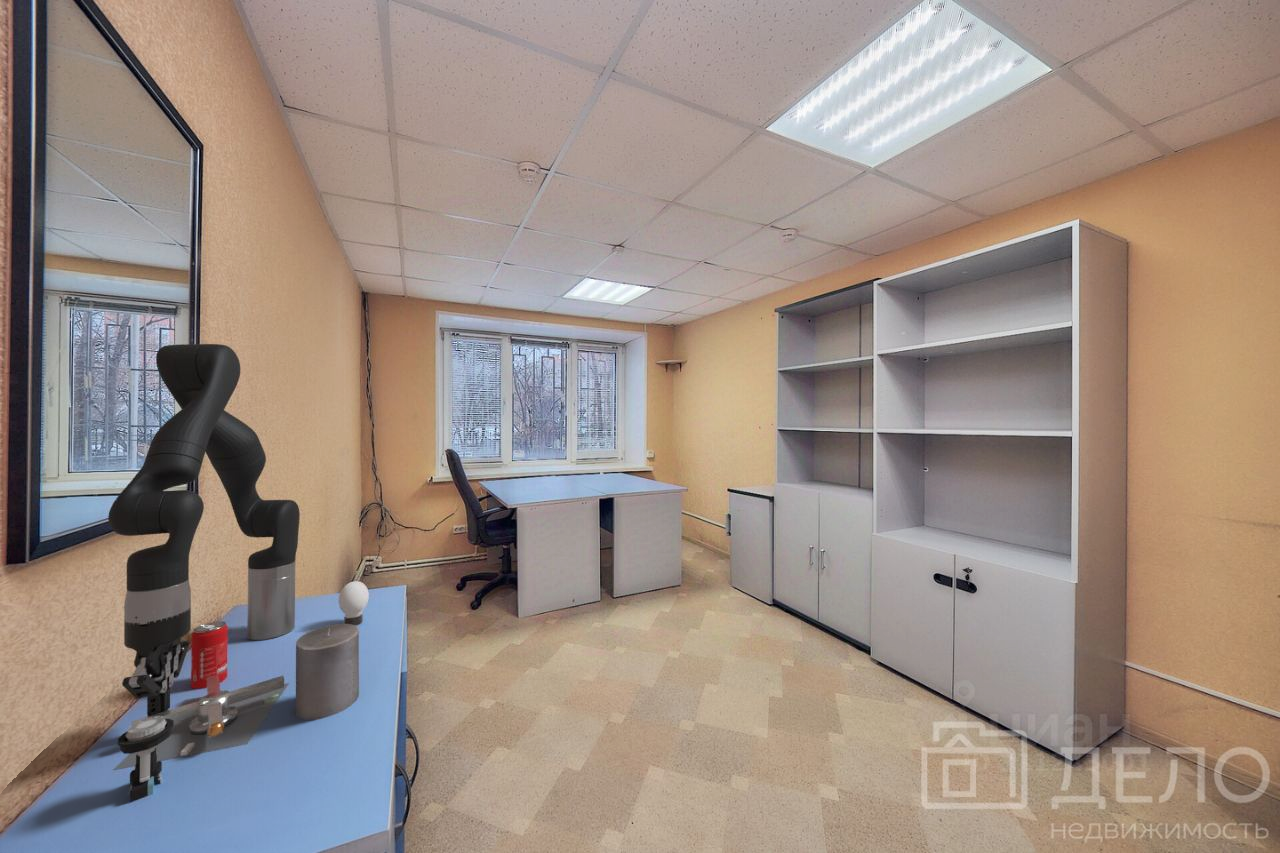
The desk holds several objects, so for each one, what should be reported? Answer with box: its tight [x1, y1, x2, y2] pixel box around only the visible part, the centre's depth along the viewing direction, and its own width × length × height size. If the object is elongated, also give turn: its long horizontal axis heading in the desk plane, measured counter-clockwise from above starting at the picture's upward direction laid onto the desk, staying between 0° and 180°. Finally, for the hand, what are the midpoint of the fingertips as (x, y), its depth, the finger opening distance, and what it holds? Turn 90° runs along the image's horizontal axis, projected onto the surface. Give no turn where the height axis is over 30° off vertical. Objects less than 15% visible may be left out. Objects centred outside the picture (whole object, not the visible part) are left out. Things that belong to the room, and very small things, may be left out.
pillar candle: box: [295, 623, 360, 721], centre depth 83 cm, size 10×10×15 cm
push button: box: [117, 716, 174, 803], centre depth 64 cm, size 7×5×10 cm
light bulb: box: [338, 580, 370, 626], centre depth 118 cm, size 7×7×11 cm
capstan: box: [130, 675, 285, 737], centre depth 77 cm, size 20×19×4 cm
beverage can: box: [190, 620, 229, 690], centre depth 89 cm, size 5×5×12 cm
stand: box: [113, 682, 290, 771], centre depth 77 cm, size 18×16×2 cm
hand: (158, 713), depth 74 cm, fingers closed
